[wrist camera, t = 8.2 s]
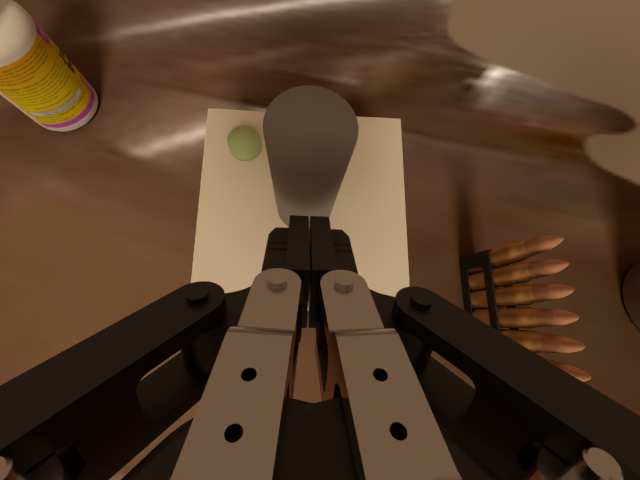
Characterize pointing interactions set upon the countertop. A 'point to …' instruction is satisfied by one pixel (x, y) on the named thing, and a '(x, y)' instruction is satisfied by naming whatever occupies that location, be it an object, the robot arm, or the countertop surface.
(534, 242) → the ammunition clip
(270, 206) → the joystick
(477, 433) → the robot arm
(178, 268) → the countertop surface
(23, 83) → the supplement bottle
